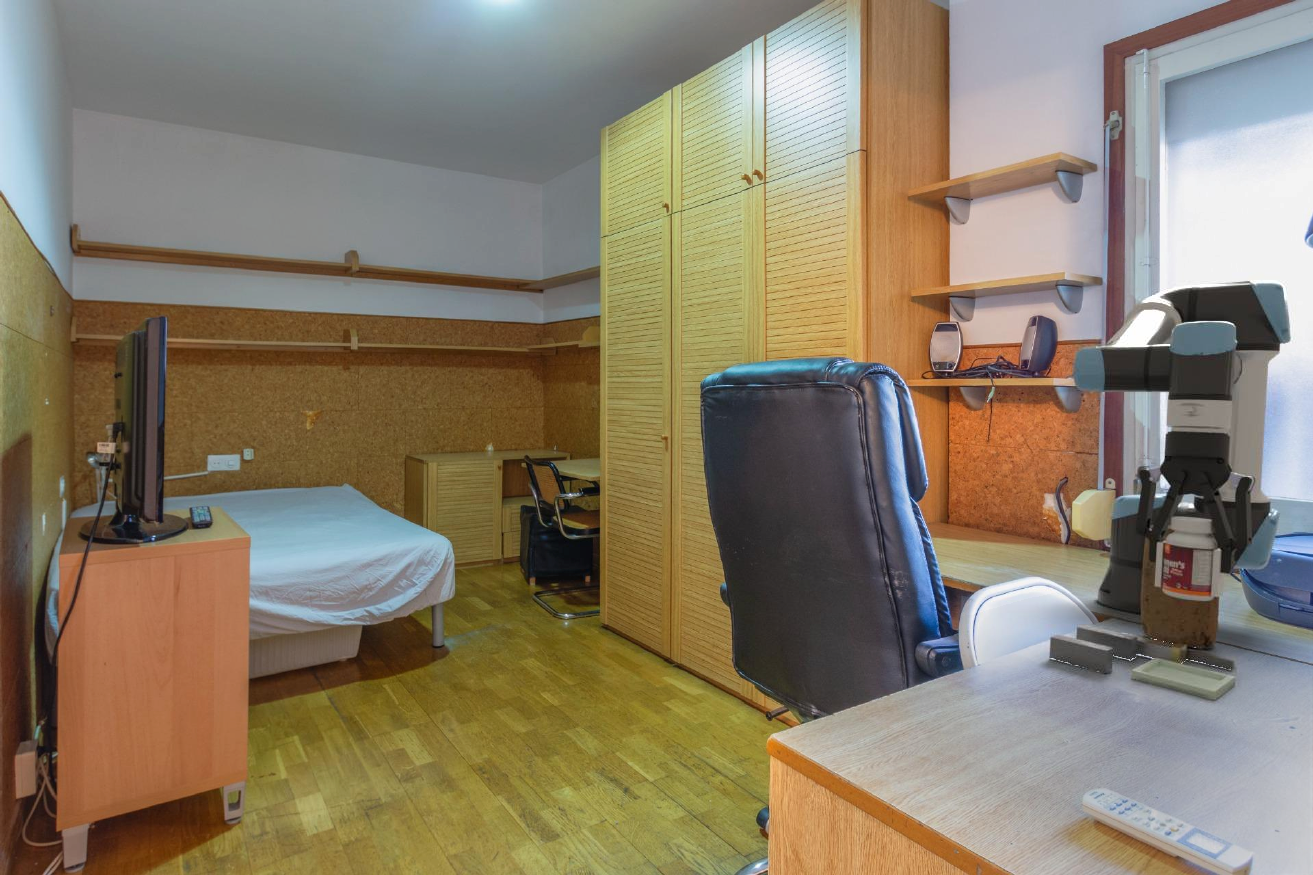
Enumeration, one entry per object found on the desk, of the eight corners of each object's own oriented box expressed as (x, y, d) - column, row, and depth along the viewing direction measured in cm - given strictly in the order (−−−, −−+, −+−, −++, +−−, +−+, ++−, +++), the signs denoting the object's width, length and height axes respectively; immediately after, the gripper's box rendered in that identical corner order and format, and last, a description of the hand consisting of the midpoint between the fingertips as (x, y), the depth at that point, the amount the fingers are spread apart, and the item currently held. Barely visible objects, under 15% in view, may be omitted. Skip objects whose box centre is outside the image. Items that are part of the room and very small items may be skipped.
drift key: (1121, 646, 125) (1122, 630, 125) (1185, 661, 118) (1186, 644, 118) (1114, 650, 122) (1115, 633, 122) (1178, 666, 116) (1179, 648, 115)
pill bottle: (1151, 591, 111) (1156, 515, 110) (1190, 591, 111) (1194, 516, 111) (1185, 601, 105) (1189, 521, 104) (1225, 602, 105) (1230, 522, 105)
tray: (1155, 665, 116) (1155, 657, 115) (1234, 684, 108) (1235, 676, 108) (1131, 678, 109) (1131, 670, 109) (1214, 700, 101) (1214, 691, 101)
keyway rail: (1125, 643, 126) (1125, 635, 126) (1234, 669, 115) (1234, 659, 115) (1122, 645, 126) (1123, 636, 126) (1232, 670, 114) (1232, 661, 114)
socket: (1082, 645, 125) (1083, 624, 125) (1136, 658, 119) (1137, 636, 119) (1049, 659, 117) (1050, 637, 117) (1105, 674, 111) (1106, 650, 111)
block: (1134, 637, 130) (1141, 523, 130) (1149, 630, 135) (1155, 520, 134) (1209, 654, 122) (1217, 533, 121) (1222, 646, 127) (1229, 529, 126)
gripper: (1113, 427, 112) (1105, 580, 113) (1276, 433, 97) (1265, 608, 98) (1132, 428, 117) (1123, 574, 118) (1289, 433, 102) (1279, 601, 103)
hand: (1188, 589), depth 108 cm, fingers closed on pill bottle, 6 cm apart
